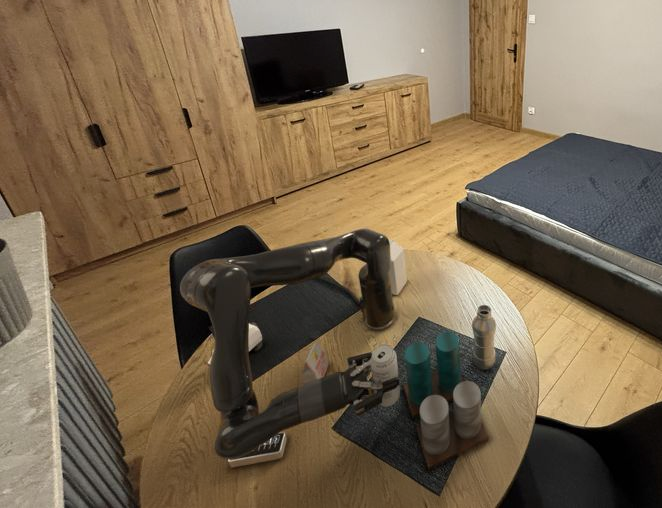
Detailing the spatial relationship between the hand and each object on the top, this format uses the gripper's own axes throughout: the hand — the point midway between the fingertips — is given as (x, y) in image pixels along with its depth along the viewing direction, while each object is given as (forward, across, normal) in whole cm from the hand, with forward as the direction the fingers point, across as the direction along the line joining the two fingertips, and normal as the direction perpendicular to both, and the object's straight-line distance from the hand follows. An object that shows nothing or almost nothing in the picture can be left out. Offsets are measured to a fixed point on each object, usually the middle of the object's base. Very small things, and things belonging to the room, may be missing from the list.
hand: (395, 368), depth 89 cm
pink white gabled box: (-19, +17, +14) cm, 29 cm away
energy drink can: (-2, 0, +9) cm, 9 cm away
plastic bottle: (+25, +2, +14) cm, 29 cm away
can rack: (+10, 0, +14) cm, 17 cm away
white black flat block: (-32, +3, +14) cm, 35 cm away
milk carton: (+9, +43, +14) cm, 46 cm away
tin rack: (+10, -12, +14) cm, 21 cm away
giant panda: (-39, +33, +14) cm, 53 cm away
